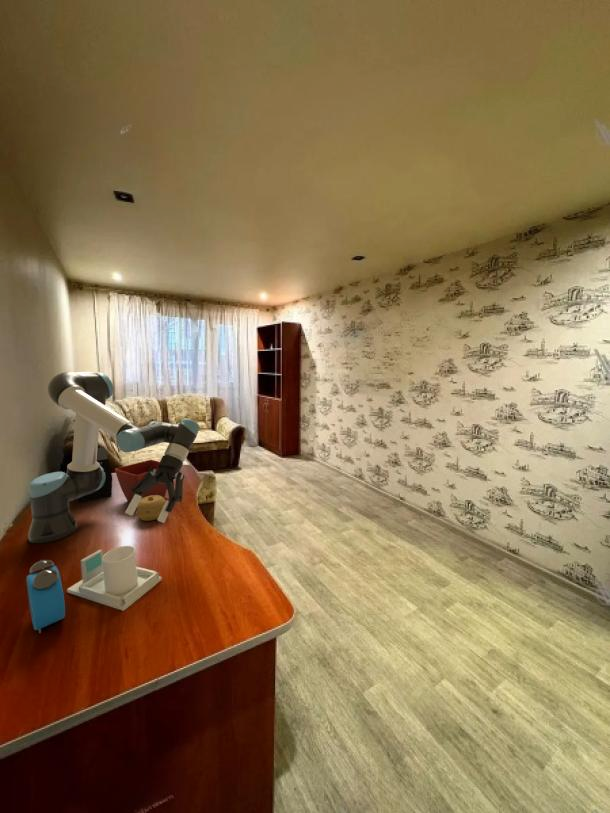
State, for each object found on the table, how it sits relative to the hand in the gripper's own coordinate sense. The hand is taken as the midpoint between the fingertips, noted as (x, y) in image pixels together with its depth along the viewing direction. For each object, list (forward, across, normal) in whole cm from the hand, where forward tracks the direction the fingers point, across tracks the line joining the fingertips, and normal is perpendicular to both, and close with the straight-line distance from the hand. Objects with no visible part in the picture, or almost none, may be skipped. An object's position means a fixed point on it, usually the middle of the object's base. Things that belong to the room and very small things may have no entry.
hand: (144, 518), depth 103 cm
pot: (-5, +25, -31) cm, 40 cm away
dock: (+20, 0, -2) cm, 20 cm away
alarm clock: (+30, +4, +9) cm, 32 cm away
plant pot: (-14, +44, -43) cm, 63 cm away
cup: (+19, -2, -1) cm, 19 cm away
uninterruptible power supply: (-13, +81, -44) cm, 93 cm away
